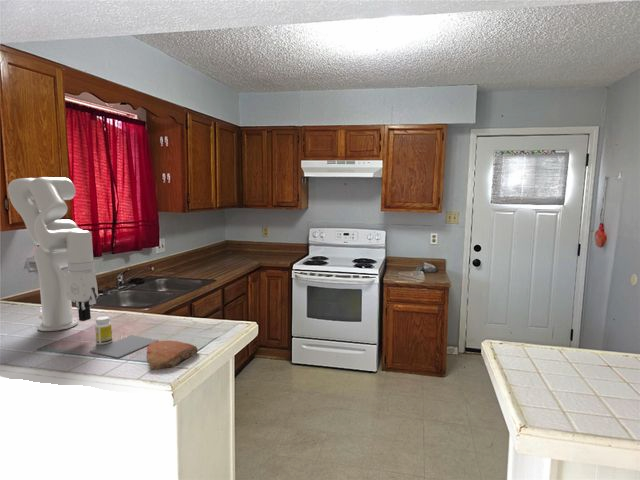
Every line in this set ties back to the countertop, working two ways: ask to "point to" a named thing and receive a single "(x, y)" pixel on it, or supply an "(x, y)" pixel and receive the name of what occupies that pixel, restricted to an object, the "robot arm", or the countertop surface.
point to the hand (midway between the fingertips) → (85, 319)
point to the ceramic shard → (168, 353)
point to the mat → (123, 346)
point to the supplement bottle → (103, 330)
